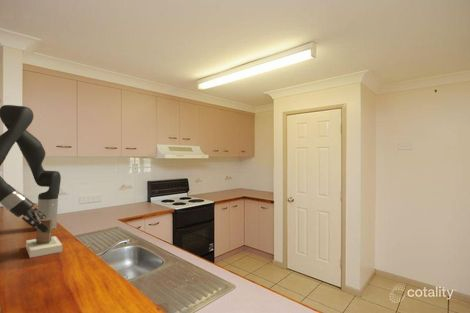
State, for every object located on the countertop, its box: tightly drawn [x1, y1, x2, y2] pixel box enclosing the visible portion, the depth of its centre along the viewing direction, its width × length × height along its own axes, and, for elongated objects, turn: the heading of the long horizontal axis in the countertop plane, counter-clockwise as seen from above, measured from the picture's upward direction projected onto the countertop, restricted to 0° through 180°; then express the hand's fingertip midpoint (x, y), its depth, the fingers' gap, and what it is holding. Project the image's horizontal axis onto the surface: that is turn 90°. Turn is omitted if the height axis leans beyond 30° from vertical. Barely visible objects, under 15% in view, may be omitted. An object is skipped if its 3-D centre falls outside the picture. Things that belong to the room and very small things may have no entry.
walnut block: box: [35, 218, 53, 244], centre depth 111 cm, size 5×5×10 cm
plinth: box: [25, 235, 63, 259], centre depth 111 cm, size 16×11×3 cm
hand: (48, 228), depth 112 cm, fingers open, 8 cm apart
